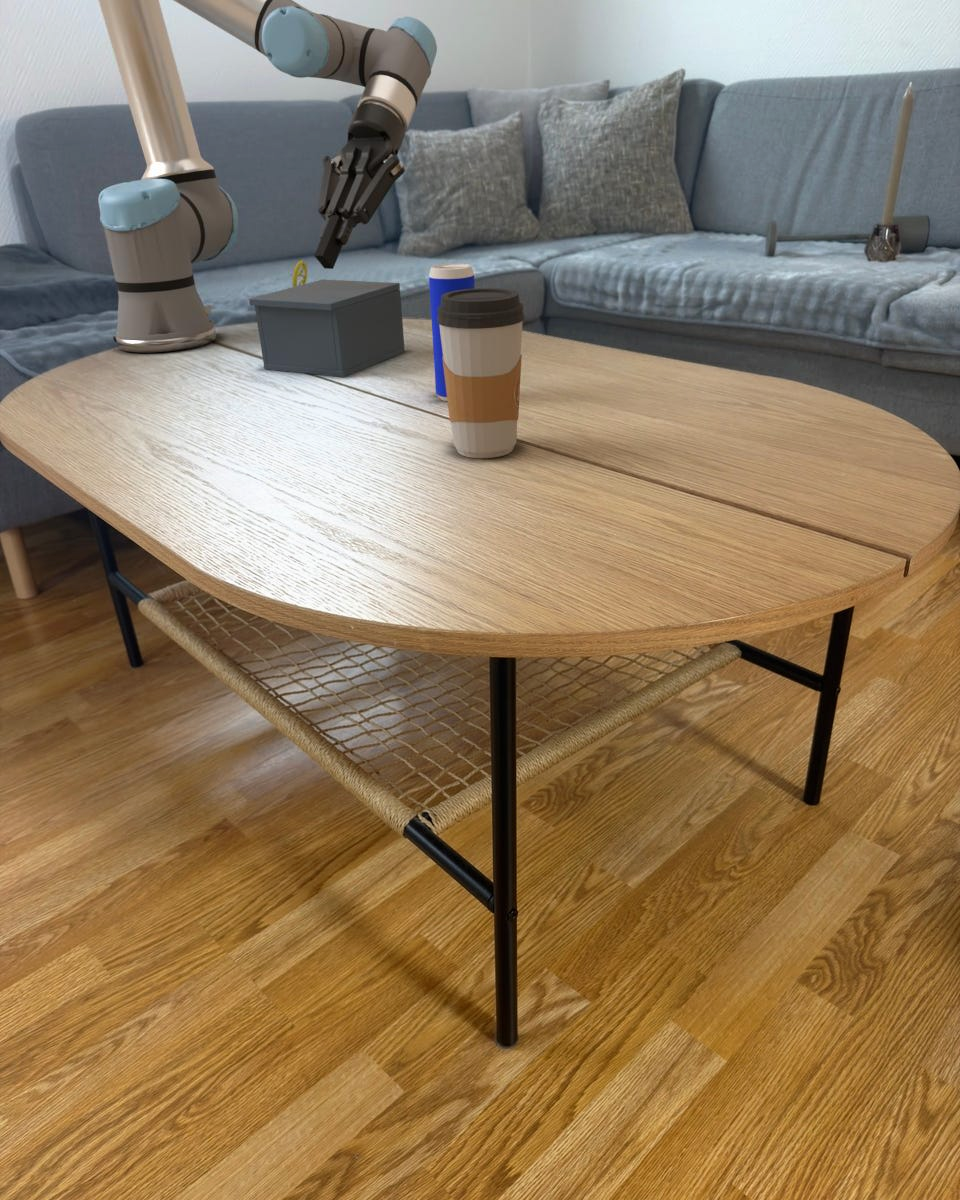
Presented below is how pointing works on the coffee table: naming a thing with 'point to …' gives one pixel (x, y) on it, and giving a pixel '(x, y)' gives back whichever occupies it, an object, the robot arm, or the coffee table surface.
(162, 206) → the robot arm
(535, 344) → the coffee table surface
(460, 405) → the coffee cup
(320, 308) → the lid
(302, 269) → the yellow spoked ring
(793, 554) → the coffee table surface
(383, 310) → the chest
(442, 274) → the beverage can
